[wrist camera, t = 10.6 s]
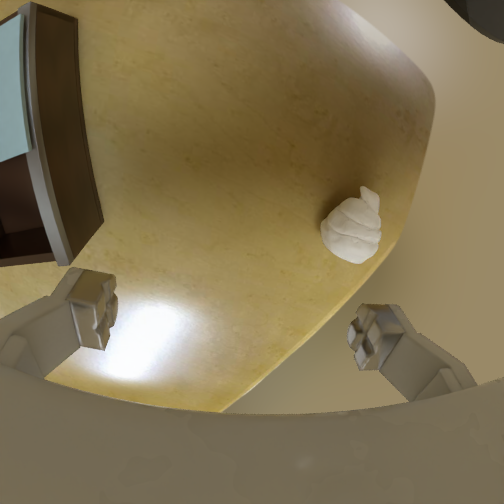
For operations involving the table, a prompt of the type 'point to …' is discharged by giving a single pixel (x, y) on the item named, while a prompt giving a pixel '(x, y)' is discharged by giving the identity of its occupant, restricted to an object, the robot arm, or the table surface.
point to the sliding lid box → (49, 151)
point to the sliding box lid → (12, 91)
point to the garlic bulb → (353, 227)
